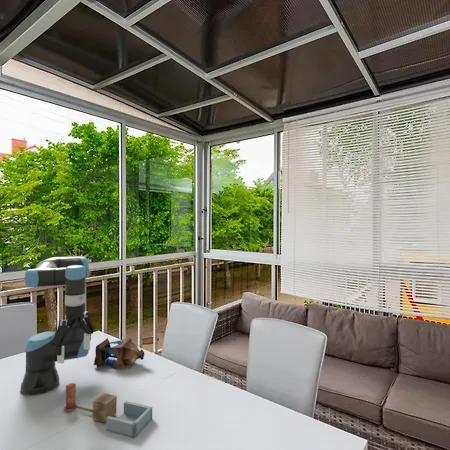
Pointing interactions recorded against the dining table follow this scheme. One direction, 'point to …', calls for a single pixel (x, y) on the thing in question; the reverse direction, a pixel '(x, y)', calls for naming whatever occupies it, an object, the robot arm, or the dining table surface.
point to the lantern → (118, 353)
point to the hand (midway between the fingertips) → (74, 355)
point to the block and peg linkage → (101, 405)
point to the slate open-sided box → (130, 419)
